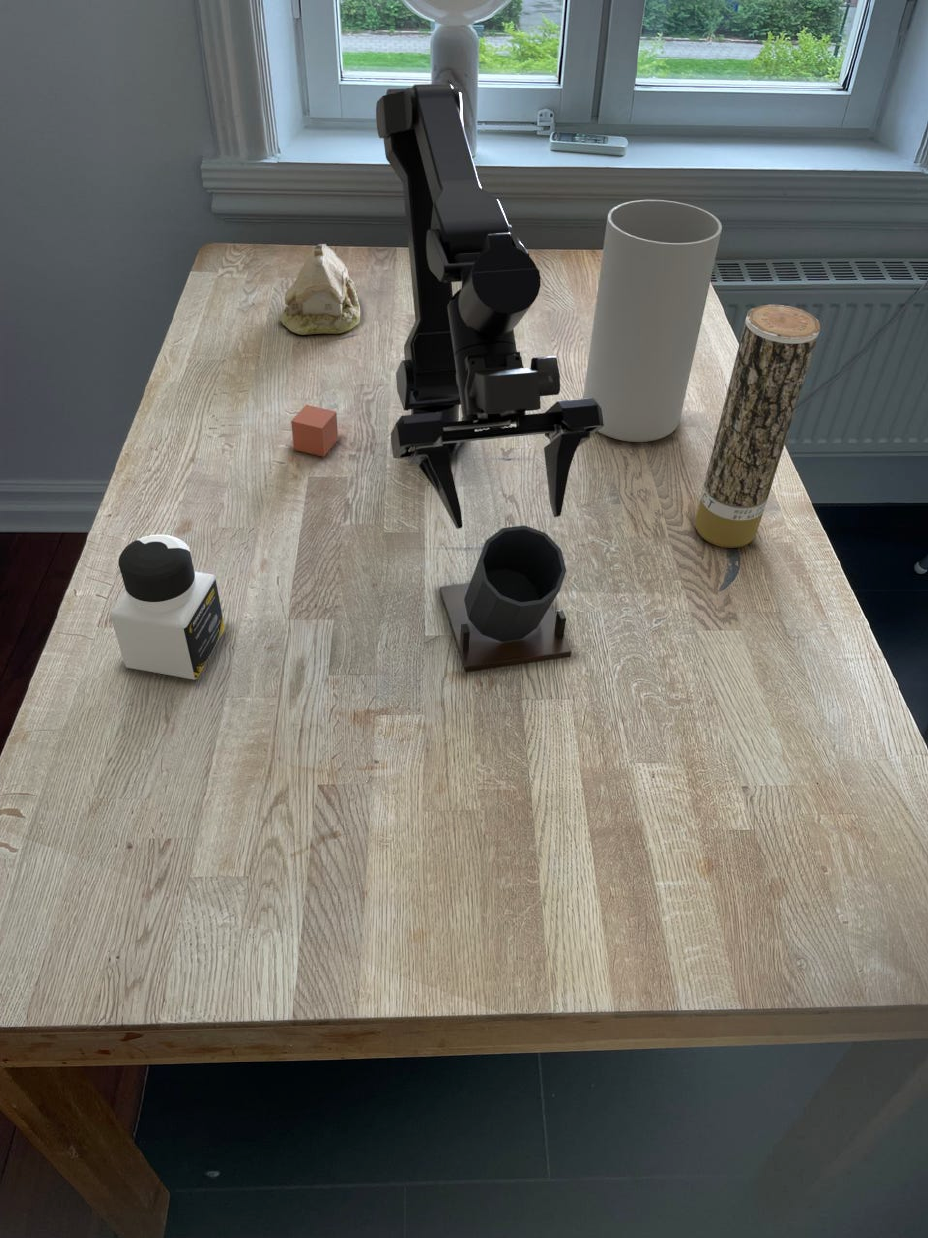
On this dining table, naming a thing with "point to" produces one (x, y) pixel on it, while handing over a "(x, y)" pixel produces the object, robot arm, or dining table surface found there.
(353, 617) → the dining table surface
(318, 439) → the block
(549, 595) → the bin
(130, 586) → the medicine bottle
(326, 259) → the ceramic model
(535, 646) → the brown pegged stand
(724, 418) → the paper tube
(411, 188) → the robot arm
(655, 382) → the cylinder vase
